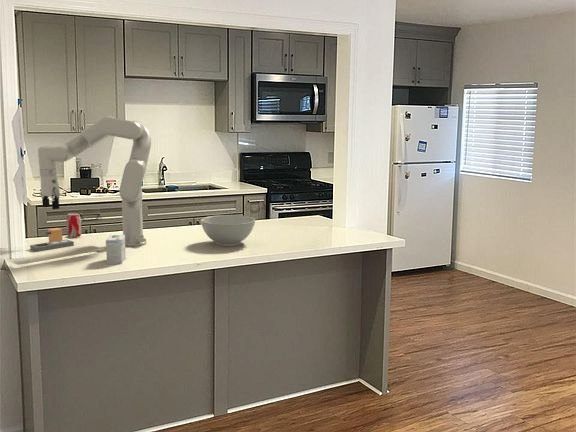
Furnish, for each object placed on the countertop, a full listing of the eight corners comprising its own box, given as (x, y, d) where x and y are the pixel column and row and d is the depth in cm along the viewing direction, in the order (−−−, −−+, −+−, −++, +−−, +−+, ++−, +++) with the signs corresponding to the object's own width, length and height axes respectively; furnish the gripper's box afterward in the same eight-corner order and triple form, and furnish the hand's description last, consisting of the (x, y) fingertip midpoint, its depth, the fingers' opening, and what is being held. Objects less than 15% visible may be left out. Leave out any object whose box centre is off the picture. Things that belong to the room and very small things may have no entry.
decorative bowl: (219, 236, 339) (219, 213, 337) (264, 241, 328) (264, 217, 325) (190, 246, 315) (189, 221, 313) (237, 251, 304) (237, 226, 302)
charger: (62, 245, 317) (61, 229, 316) (49, 247, 312) (48, 231, 311) (58, 243, 320) (57, 227, 318) (45, 246, 315) (44, 229, 313)
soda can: (77, 238, 332) (75, 215, 330) (64, 237, 334) (63, 214, 332) (84, 235, 339) (82, 213, 337) (71, 235, 340) (70, 212, 338)
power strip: (74, 248, 309) (73, 241, 308) (37, 255, 296) (37, 247, 296) (66, 246, 314) (66, 239, 313) (30, 252, 301) (30, 244, 300)
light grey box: (110, 258, 291) (109, 234, 289) (126, 258, 291) (125, 234, 289) (106, 264, 280) (105, 239, 278) (122, 264, 281) (121, 239, 279)
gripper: (64, 173, 306) (67, 208, 309) (47, 170, 318) (49, 205, 321) (49, 174, 301) (52, 210, 304) (32, 172, 312) (35, 207, 315)
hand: (51, 208), depth 312 cm, fingers open, 9 cm apart
